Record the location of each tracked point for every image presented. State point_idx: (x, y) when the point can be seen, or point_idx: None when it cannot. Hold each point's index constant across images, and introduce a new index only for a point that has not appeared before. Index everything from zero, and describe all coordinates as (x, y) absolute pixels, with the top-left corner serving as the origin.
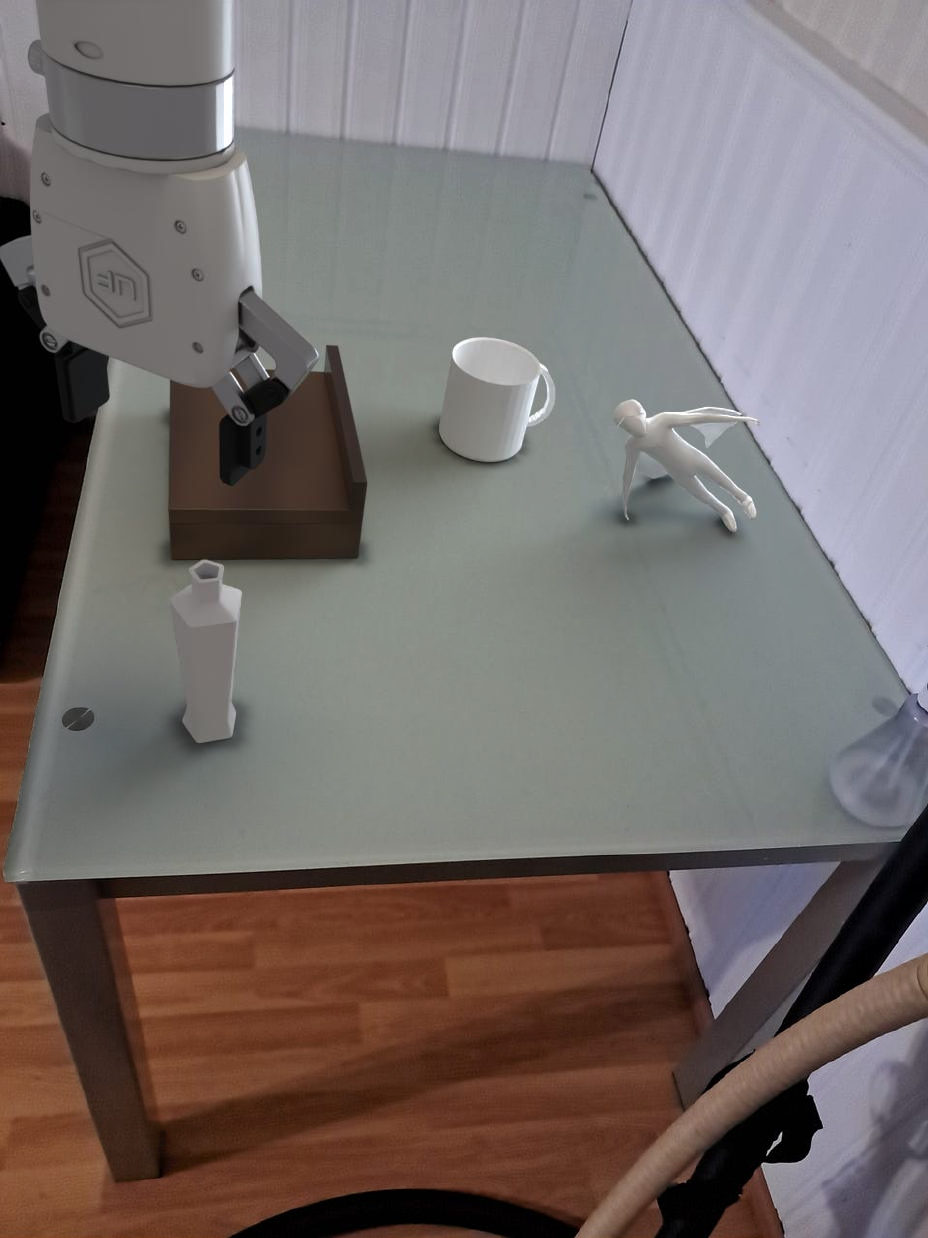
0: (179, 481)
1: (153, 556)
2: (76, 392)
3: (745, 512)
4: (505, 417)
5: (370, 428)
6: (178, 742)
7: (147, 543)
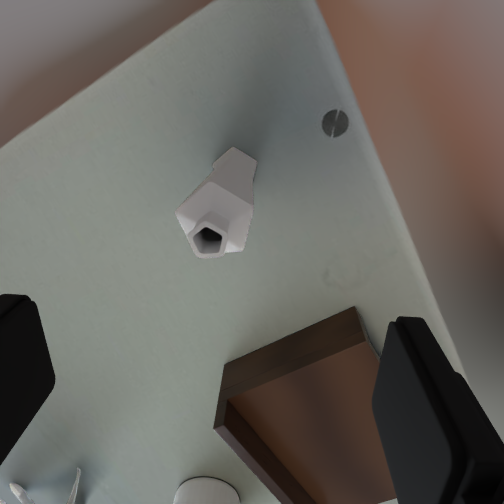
0: (374, 372)
1: (369, 303)
2: (411, 381)
3: (2, 501)
4: None
5: None
6: (247, 140)
7: (381, 312)
